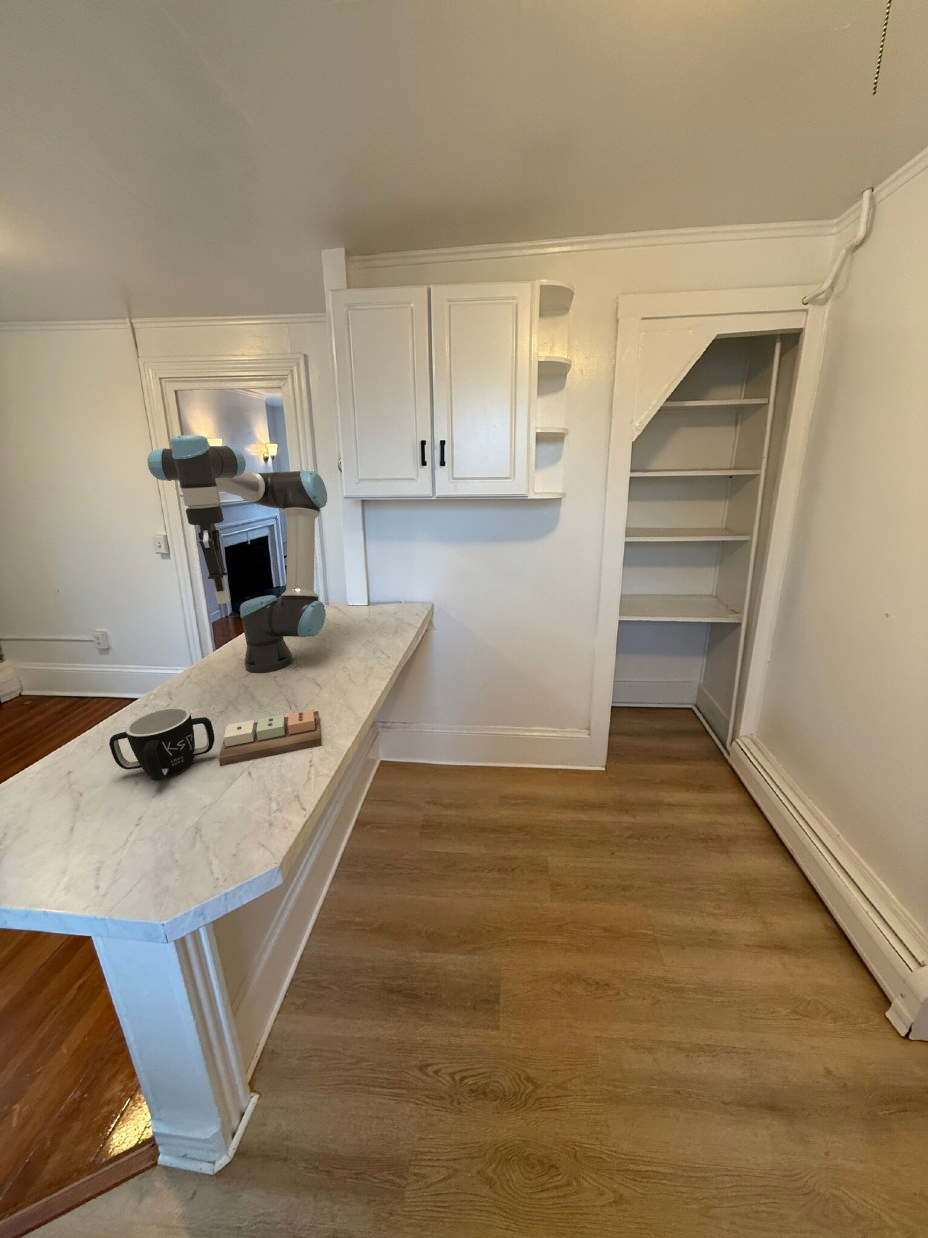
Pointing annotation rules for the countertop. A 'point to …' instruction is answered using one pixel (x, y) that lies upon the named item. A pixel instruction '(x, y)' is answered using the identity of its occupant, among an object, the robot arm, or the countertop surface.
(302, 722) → the key
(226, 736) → the key
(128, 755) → the countertop surface
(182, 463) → the robot arm
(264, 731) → the key
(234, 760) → the board
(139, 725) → the mug
